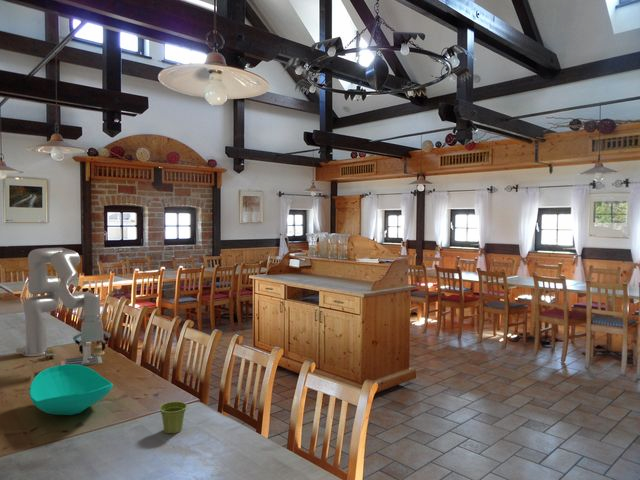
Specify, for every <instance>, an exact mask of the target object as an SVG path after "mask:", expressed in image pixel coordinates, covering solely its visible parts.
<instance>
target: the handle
mask: <svg viewBox="0 0 640 480" xmlns="http://www.w3.org/2000/svg"><path fill="white" fill-rule="evenodd" d="M85 346H88V349H87V352H88V358H92V357H91V356H92V341H91V342H85Z"/></svg>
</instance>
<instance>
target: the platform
mask: <svg viewBox="0 0 640 480" xmlns="http://www.w3.org/2000/svg"><path fill="white" fill-rule="evenodd" d="M48 349H49V350H48ZM44 352H45V354H44V355H46V356H47V359H48V360H50V359H52V360H54V356H55V355H56V354H57V353H56V352H55V351H54V349H52V348H51V347H50V348H47V351H44Z"/></svg>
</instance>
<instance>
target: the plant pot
mask: <svg viewBox="0 0 640 480" xmlns="http://www.w3.org/2000/svg"><path fill="white" fill-rule="evenodd" d="M187 407H188V405H187V403H186V402H184V401H170V402H165V403H162V404H161V405H160V406H159V411H160V414H161V417H162V418H161V419H162V425H163V432H164V433H166V434H169V435H170V434H177V433H179V432H181V431H182V429H183V423H184V417H185V412H186V409H187Z"/></svg>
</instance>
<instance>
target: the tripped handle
mask: <svg viewBox="0 0 640 480" xmlns="http://www.w3.org/2000/svg"><path fill="white" fill-rule="evenodd" d="M87 349H88V346H87V345H85V346H83V353H82V357H83V362H82V363H89V361H88V352H87Z"/></svg>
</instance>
